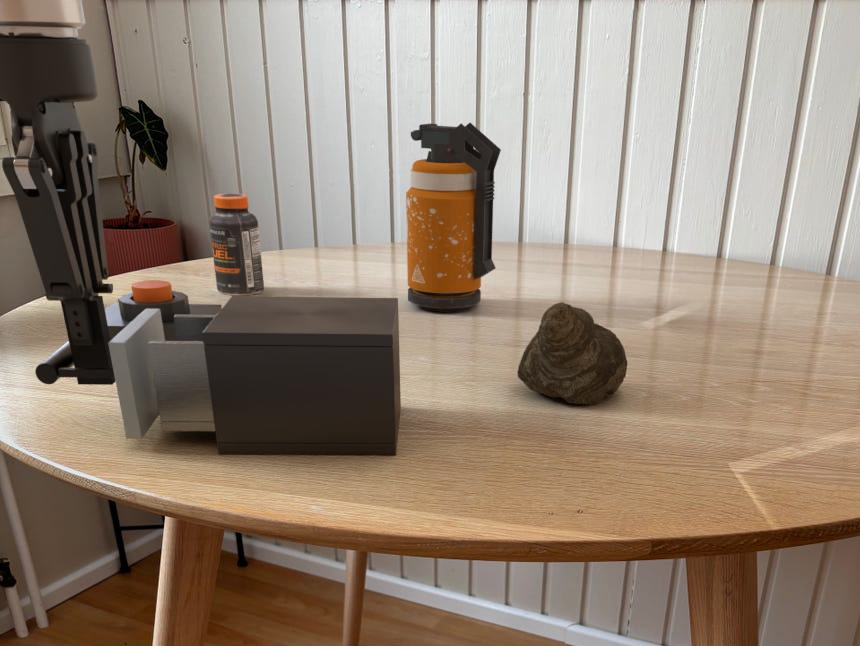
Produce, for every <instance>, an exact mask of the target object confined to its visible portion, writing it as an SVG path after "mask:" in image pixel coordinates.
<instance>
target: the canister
mask: <svg viewBox="0 0 860 646" xmlns="http://www.w3.org/2000/svg"><path fill="white" fill-rule="evenodd" d="M410 138H411V139H412V140H413V141H415V142H418V141H420V147H421V149H428V152H427V157H426V158H423V159H418V160H415V161H414V162H413V163H412V165H411V166H412V167H411V169H410V188H409V189H408V190H407V191H406V192H405V207H406V208H405V209H406V213H405V214H406V260H407V261H406V262H407V267H406V268H407V287H408V289H407V301H408V302H409V303H411V304H414V305H417V306H418V307H419V308H421V309H423V310H426V311H432V312H442V313H443V312H444V313H445V312H446V313H448V312H449V313H450V312H451V313H452V312H459V311H465V310H467V309H470V307H472V306H476V305H478V304H480V303H481V300H482V298H481V297H482V294H481V293H482V291H481V289H480V288H481V286H482V278H483V277H484V276H486V275H488V274H489V273H491V272H492V271H494V270H496V265H495V264H494V261H493V259H492V258H493V255H492V254H493V225H494V224H493V223H494V218H493V217H494V200H495V197H494V196H495V189H494V188H495V183H496V182H495V169H496V166H497V163H498V160H499V157H500V154H501V151H502V148H500V147H499V146H497V144H496V143H494V142H493V141H492V139H490V138H488V137H487V135H486V134H484V133H483V132H482V131H481V130H479V128H477V126H475V125H474V123H472V122H468V123H467V124H466V125H464V124H463V123H460V124H458V125H457V126H449V125H438V124H437V123H422V124H419V126H418V129H414V130H412V131H410Z"/></svg>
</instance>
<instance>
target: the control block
mask: <svg viewBox="0 0 860 646" xmlns="http://www.w3.org/2000/svg"><path fill="white" fill-rule="evenodd" d="M172 295H173V299H171V300H168V301H161V302H137V301H134V299H133V293H132V292H129V293H125V294H122V295H121V296H119V297H118V298H117V302H116V303H115V302H113V303H111V304H110V305H108V307H105V313H106V319H107V324H108V330H109V335H110V340H112V339H113V338H114V337H115V336H116V335H117V334H119V333H120V332H121V331H122V330H123V329H124V328H125V327H126V326H127V325H128V324H130V323H131V322H132V321H133V320H134V319H135V318H136V317H137V316H138V315H140V314H141V313H142V312H143V311H144V310H145V309H160V311H161V318H162V324H163V331H164V337H165V341H177V335H176V329H175V322H174V316H175V315H176V314H184V315H217V314H218V313H219V311H220V310H221V309H222V308H223V306H222V304H213V303H212V304H210V303H209V304H205V303H204V304H203V303H201V304H200V303H190V302H189V296H188V295H187V294H185V293H184V292H182V291H176V290H172Z"/></svg>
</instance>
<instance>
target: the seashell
mask: <svg viewBox="0 0 860 646" xmlns="http://www.w3.org/2000/svg"><path fill="white" fill-rule="evenodd" d="M517 369H518V370H517V378H518V379H519V380H520V381H521V382H523V383H524V385H525V386H526V387H527V388H528V389H529V390H530V391H533V392H536V393H540V394H543V395H545V396H548V397H550V398H552V399H553V398H562V399H563V400H565V401H566V402H567V404H568V403H569V404H577V405H578V404H579V405H580V404H584V405H588V406H589V405H590V406H591V405H597V404H598V403H599V402H601V401H603V400H604V398H605V397H606V395H607V396H612V395H614V394H615V393H617V391H618V390H619V388H620V387H621V385H622V384H623V383H624V380H625V378H626V375H627V370H628V359H627V355H626V349H625V348H624V345H623V344H622V342H621V340H620V339H619V338H618V337H617V334H615V333H614V332H613V331H612V330H610V329H608V328H606V327H604V326H602V325H600V324H598V323H596V322H595V321H594V317H593V316H592V315H591V314H590V313H589V311H586V309H585V310H584V309H583V308H581V307H575V306H572V305H571V304H569V303H565V302H557V303H555V304H553V305H551V306H550V307H548V308H547V309H546V311H544V313H543V314H542V317H541V319H540V324H539V327H538V330H537V332H536V333H535V335H534V336H533V337H532V338H531V339H530V341H529V343H528V344H527V346H526V347H525V349H524V351H523V353H522V355H521V358H520V362H519V363H518V368H517Z"/></svg>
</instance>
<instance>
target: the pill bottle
mask: <svg viewBox="0 0 860 646" xmlns="http://www.w3.org/2000/svg"><path fill="white" fill-rule="evenodd" d="M248 199H249V198H248V196H247V195H246V194H243V193H218V194H215V195H214V196H213V201H214V208H215V212H214V213H213V214H212V215H211V216H210V217H209V220H208V225H209V233H210V240H211V248H212V257H213V266H214V273H215V274H214V275H215V283H216V289H217V291H218V292H219V293H220V294H222V295H227V296H253V295H256V294H260V293H262V292H263V291H264V290H265V282H264V272H263V263H262V262H263V261H262V251H261V241H260V232H259V221H258V219H257V216H256V215H254V214H253V213H251V212H249V205H250V204H249V200H248Z"/></svg>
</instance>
